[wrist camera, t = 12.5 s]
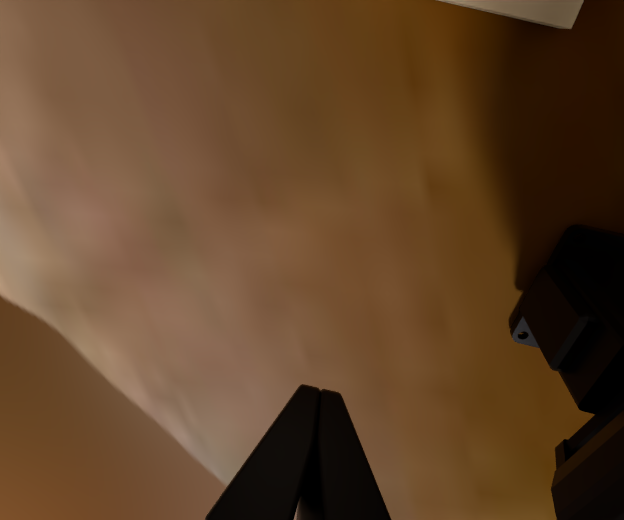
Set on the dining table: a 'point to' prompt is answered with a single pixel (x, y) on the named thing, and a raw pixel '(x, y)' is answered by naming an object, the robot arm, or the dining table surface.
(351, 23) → the dining table surface
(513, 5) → the panel
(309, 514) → the robot arm
